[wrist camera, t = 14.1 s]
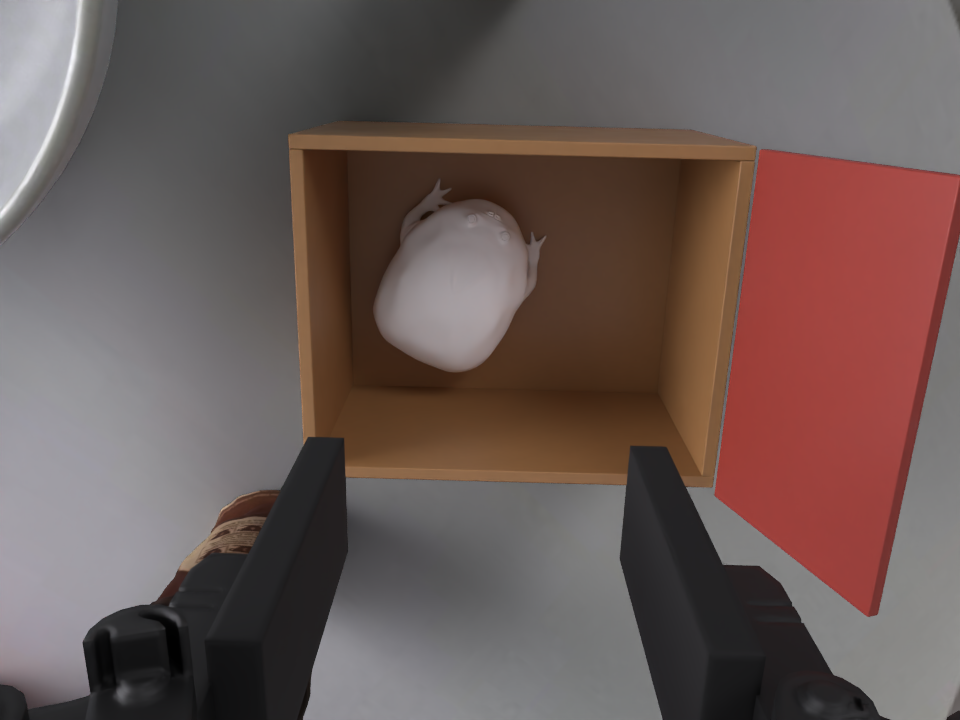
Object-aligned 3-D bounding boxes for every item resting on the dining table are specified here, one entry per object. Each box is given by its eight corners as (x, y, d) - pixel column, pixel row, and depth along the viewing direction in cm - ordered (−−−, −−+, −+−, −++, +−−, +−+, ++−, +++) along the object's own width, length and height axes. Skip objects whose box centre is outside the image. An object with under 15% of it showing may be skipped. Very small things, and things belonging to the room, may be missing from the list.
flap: (759, 149, 27) (769, 149, 27) (713, 496, 31) (722, 494, 32) (960, 176, 20) (973, 176, 20) (867, 617, 24) (878, 615, 25)
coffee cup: (213, 444, 42) (100, 595, 30) (370, 486, 43) (322, 649, 31) (185, 583, 45) (70, 773, 33) (332, 620, 46) (274, 820, 33)
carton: (692, 129, 37) (757, 146, 28) (664, 398, 41) (713, 488, 32) (337, 120, 37) (287, 134, 28) (345, 389, 41) (304, 476, 32)
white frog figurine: (431, 163, 37) (425, 173, 33) (562, 234, 38) (569, 250, 34) (356, 314, 39) (343, 338, 36) (481, 377, 40) (480, 405, 37)
